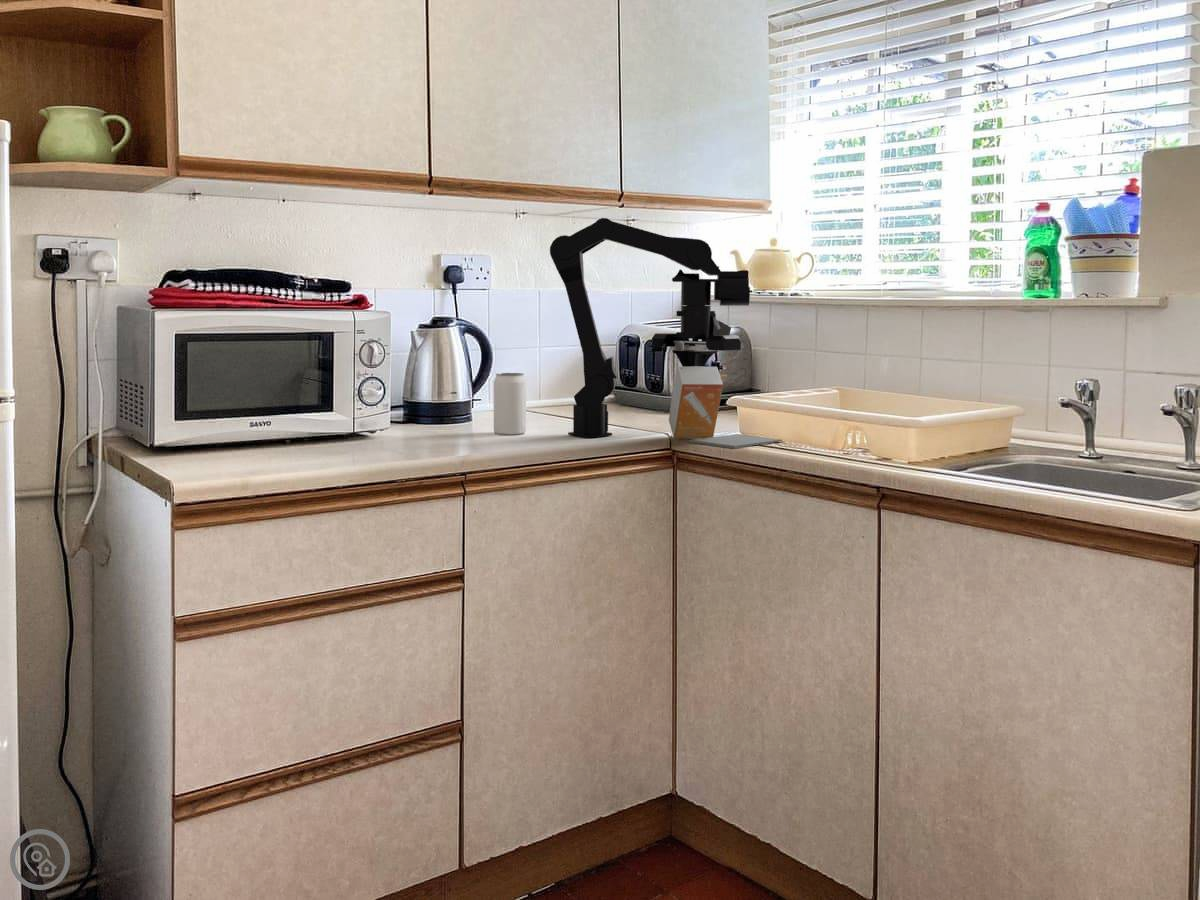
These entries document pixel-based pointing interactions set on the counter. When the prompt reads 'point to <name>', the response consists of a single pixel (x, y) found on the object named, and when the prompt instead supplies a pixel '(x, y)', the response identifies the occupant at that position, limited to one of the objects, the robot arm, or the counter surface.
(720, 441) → the mat
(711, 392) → the small box
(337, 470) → the counter surface
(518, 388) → the can
